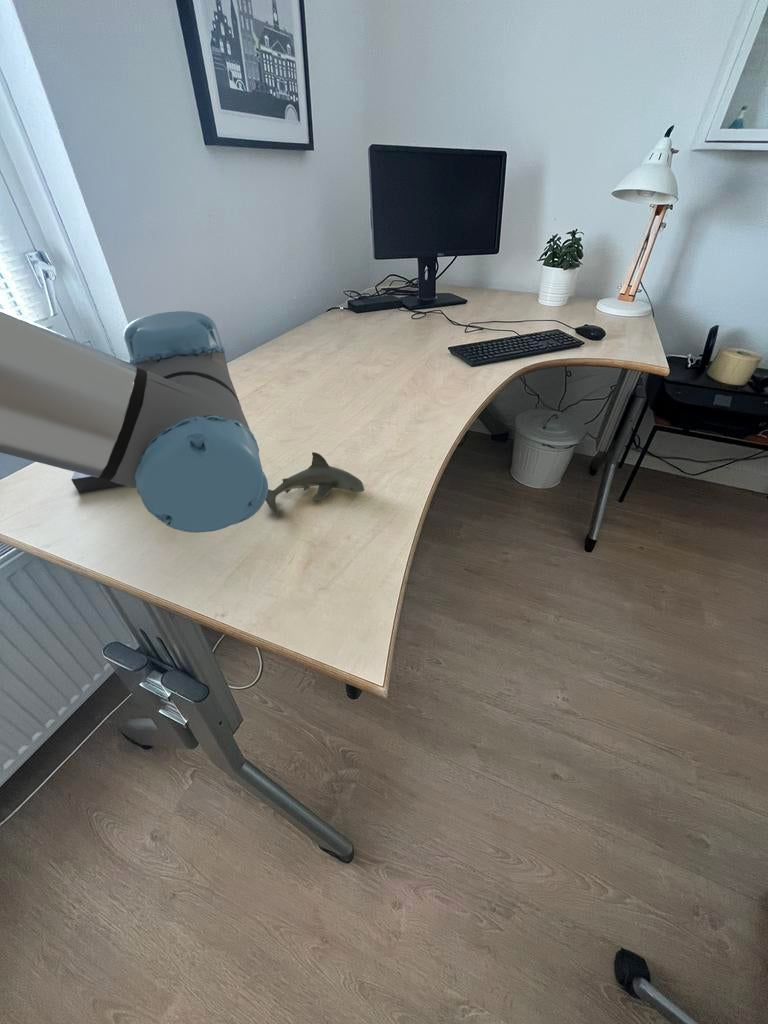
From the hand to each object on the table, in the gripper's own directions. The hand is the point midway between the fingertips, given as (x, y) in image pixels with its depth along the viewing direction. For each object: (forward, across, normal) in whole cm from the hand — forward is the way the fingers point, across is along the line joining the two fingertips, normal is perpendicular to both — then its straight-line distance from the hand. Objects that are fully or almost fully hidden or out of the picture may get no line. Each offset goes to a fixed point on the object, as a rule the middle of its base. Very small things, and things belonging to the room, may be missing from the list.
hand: (137, 382), depth 65 cm
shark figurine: (-16, +20, -21) cm, 33 cm away
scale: (+16, -2, -21) cm, 27 cm away
